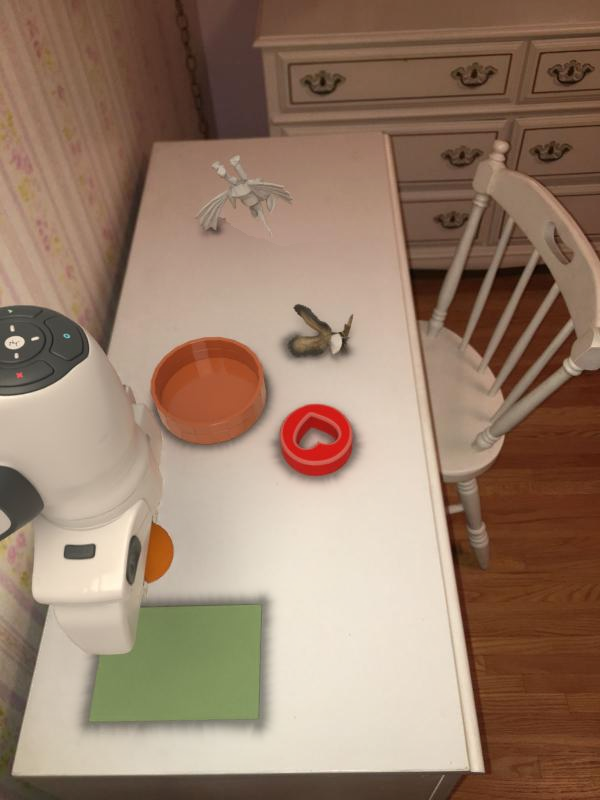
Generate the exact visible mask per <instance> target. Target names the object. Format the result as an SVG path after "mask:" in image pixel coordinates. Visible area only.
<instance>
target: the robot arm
mask: <svg viewBox="0 0 600 800" xmlns="http://www.w3.org/2000/svg"><path fill="white" fill-rule="evenodd" d="M160 427H161V426H159V424H158V422H157V420H156V417H155V416H154V413H153V412H152V410H151V409H150V407H149V406H148V405H147V404H146V403H137V401H136V397H135V394H134V393H133V390H132V388H131V386H129V385H126V384H123V383H122V380H121V378H120V376H119V373H118V372H117V370H116V369H115V366H114V365H113V364H112V362H111V360H110V359H109V357H108V356H107V354H106V353H105V352H104V349H103V347H101V345H100V344H99V342H97V340H96V339H95V338H94V337H93V336H92V335H91V333H90V332H89V331H88V330H87V329H86V328H84V327H83V326H82V325H81V324H80V323H78V321H76V320H74V319H73V318H72V317H70V316H68V315H66V314H64V313H63V312H60V311H58V310H55V309H53V308H50V307H45V306H42V305H35V304H10V305H4V306H0V542H2V541H3V540H5V539H7V538H8V537H10V536H11V535H13V534H15V533H16V532H17V531H19V530H20V529H22V528H23V527H25V526H27V525H28V524H29V523H31V522H32V528H33V560H32V561H33V563H32V577H31V594H32V597H33V600H35V601H36V602H37V603H38V604H41V605H49V606H52V610H53V611H52V612H53V615H54V618H55V620H56V623H57V625H58V626H59V629H61V631H62V633H64V635H65V636H66V637H67V638H68V639H69V640H70V641H71V642H72V643H73V644H74V645H75V646H76V647H77V648H78V649H79V650H80V651H82V652H83V653H85V654H88V655H97V656H98V655H99V656H100V655H113V654H124V653H128V652H130V651H131V649H132V648H133V646H134V644H135V641H136V633H137V625H138V618H139V610H140V607H141V602H142V601H145V600H147V599H148V598H147V597H148V590H149V584H148V582H147V580H146V578H145V577H144V574H145V567H146V559H147V552H148V544H149V537H150V530H151V522H153V523H156V524H157V521H158V516H159V515H158V514H159V512H158V508H159V505H160V503H161V500H162V496H163V492H164V481H163V480H164V479H163V475H162V471H161V469H160V463H161V455H162V448H163V436H162V430H161V428H160Z"/></svg>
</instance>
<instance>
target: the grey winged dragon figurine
mask: <svg viewBox="0 0 600 800" xmlns="http://www.w3.org/2000/svg"><path fill="white" fill-rule="evenodd" d="M241 159H242V157H241V156H240V154H237V155H235V156H234V157H231V158H230V159H229V163H230V167H232V168H233V170H234V171H235V173H236V174H237V176H238V177H239V178H240V180H239V179H238V178H237V177H236V176H235V175H232V176H230V174H228V171H227V170H226V169H225V166H224V165H223V164H221V162H220V161H219V160H217V161H215V162H213V163H212V165H211V167H210V168H211V169H212V170H215V171H216V173H217V175H218V176H219V178H220V179H224V180H225V181H226V182H227V183H228V184H229V185H230V186H229V188H228V189H226V190H224V191H222V192H221V193H219V194H217V195H216V196H214V197H213V198H212V199H211V200H210V201H209V202H207V203H206V204H205V205H204V206H203V207H201V209H200V210H199V211H198V213H197V214H196V215H195V216H194V219H195V220H197V221H198V226H203V228H204V229H205V231H207V230H208V229H210V228H212V229H213V230H214V231H217V228H218V221H219V219H220V218H219V217H220V215H221V210H222V209H223V207H224V206H225V203H226V202H227V200H229V202H230V204H231V205H232V208H233V209H235V210H236V209H237V199H238V200H240V202H241V203H242V205H244V206H245V207H248V209H249V211H250V214H251V216H252V218H253V219H254V220H256V221H258V222H259V221H260V220H259V217H260V219H261V221H262V222H263V224H264V226H265V228H266V229H267V230H268V233H269V235H270V237H271V239H273V238H274V232H273V231H272V229H271V228H270V226H269V225H268V222H267V217H266V215H265V211H264V208H263V205H262V203H261V202H264V201H265V204H266V205H265V206H266V208H267V210H268V212H269V217H271V216H272V214H273V212H274V211H275V209H276V207H277V201H278V199H280V200H282V201H284V203H285V202H286V203H287V204H290V205H292V206H293V205H294V204H293V202H292V201H295V199H294V198H293V197H292V196H291V195H292V193H291V192H289V191H288V190H286V189H284V188H285V186H284V185H282V184H276V183H272V182H265V181H264V178H263V177H256V178H255V179H254V178H252V179H248V178H249V175H247V173H246V171H245V170H244V168H243V166H242V165H241V163H242V162H243V161H242V160H241ZM272 196H273V197H275V198H272Z"/></svg>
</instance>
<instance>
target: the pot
mask: <svg viewBox="0 0 600 800" xmlns="http://www.w3.org/2000/svg"><path fill="white" fill-rule="evenodd" d="M263 368H264V367H263V364H262V363H261V361H260V359H259V357H258V355H257V354H256V352H254V351H253V350H252V349H251V348H250V347H249V346H247V345H246V344H244V343H242V342H240V341H237V340H235V339H232V338H228V337H222V336H205V337H203V336H202V337H200V338H195V339H192V340H188V341H186V342H184V343H182V344H180V345H177V346H175V347H174V348H173V349H172V350H170V351H169V352H167V353H166V354H165V355H164V356H163V357H162V358H161V360H160V361H159V362H158V364H157V365H156V366H155V368H154V370H153V373H152V376H151V378H150V396H151V398H152V400H153V403H154V406H155V408H156V411H157V414H158V415H159V419H160V421H161V422H162V424H163V425H164V427H165V428H166V430H168V431H169V432H170V433H171V434H172V435H174V436H175V437H177V438H178V439H180V440H182V441H185V442H187V443H193V444H196V445H197V444H198V445H213V444H219V443H224V442H228V441H230V440H233V439H235V438H237V437H239V436H241V435H242V434H244V433H246V432H247V431H248V430H249V429H250V428H252V427H253V426H254V425H255V423H256V422H257V421H258V420H259V418H260V416H261V414H262V413H263V411H264V408H265V406H266V400H267V391H266V381H265V375H264V370H263Z"/></svg>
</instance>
